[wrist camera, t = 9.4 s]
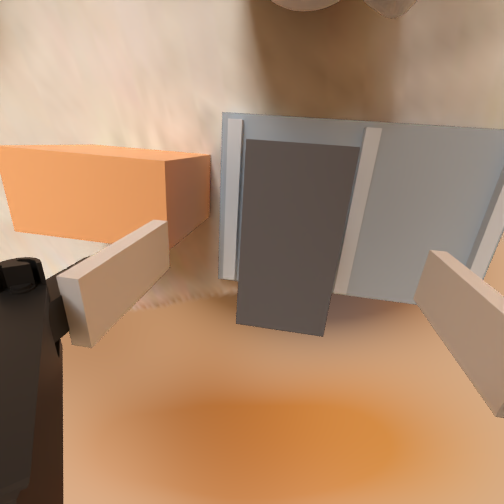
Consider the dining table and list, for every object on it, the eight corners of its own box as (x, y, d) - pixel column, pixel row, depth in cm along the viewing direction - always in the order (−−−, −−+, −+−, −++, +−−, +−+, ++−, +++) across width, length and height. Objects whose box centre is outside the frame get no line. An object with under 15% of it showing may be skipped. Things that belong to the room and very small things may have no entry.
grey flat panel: (225, 113, 25) (220, 111, 23) (534, 132, 22) (553, 131, 21) (220, 274, 31) (216, 282, 29) (464, 306, 28) (474, 316, 27)
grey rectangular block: (265, 140, 24) (246, 138, 15) (336, 145, 24) (360, 146, 15) (255, 265, 29) (235, 323, 20) (314, 273, 28) (323, 336, 19)
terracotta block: (101, 204, 30) (14, 231, 21) (93, 144, 28) (-7, 145, 19) (209, 216, 29) (168, 250, 20) (210, 154, 27) (164, 161, 17)
